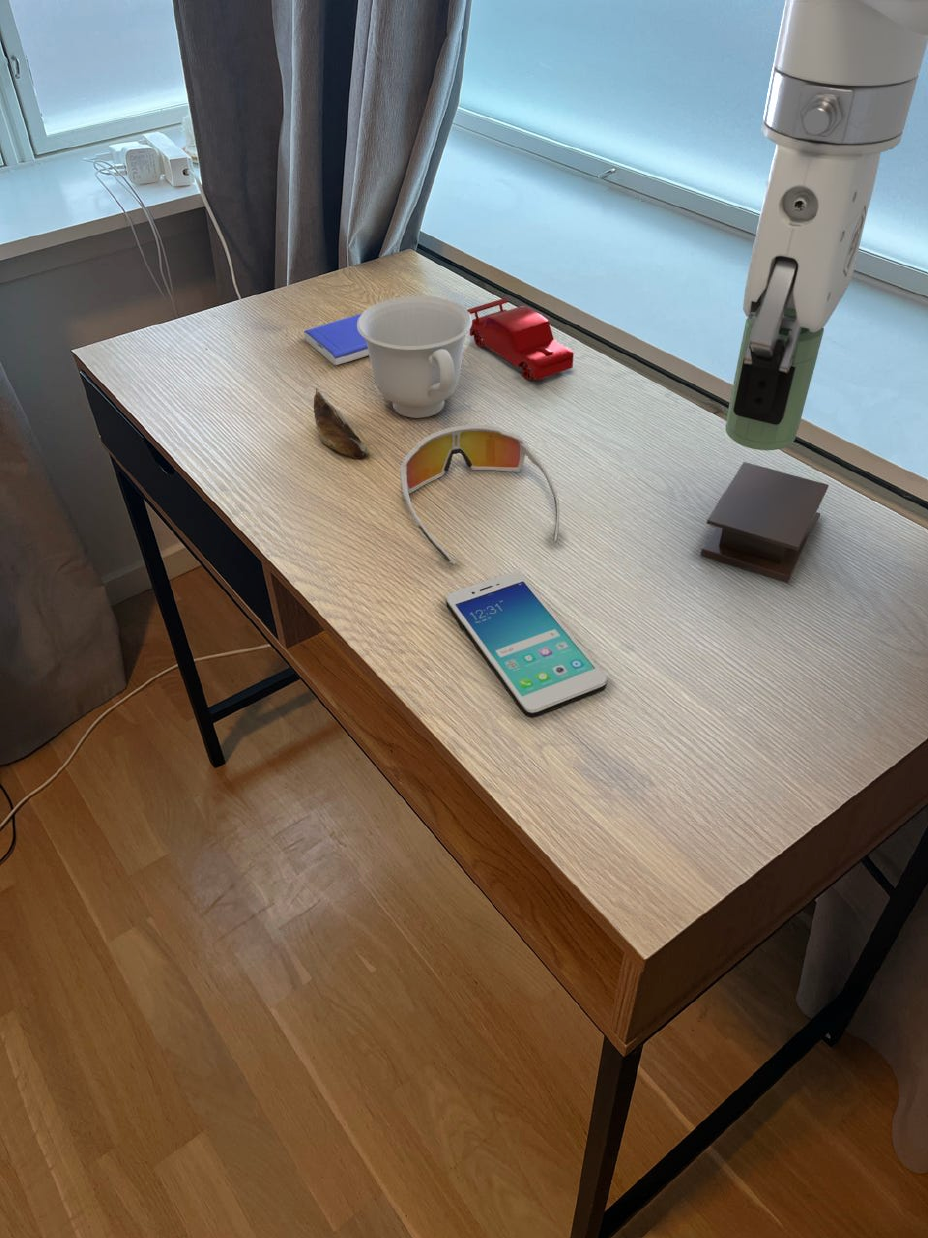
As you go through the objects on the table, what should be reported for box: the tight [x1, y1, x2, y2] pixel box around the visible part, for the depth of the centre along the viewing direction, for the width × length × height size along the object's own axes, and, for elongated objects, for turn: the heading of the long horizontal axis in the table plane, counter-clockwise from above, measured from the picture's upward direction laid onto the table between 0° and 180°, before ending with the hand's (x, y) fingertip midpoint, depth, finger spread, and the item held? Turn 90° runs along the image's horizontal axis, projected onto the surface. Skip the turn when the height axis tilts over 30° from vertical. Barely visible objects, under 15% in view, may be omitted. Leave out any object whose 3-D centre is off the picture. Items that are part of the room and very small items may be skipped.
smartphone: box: [445, 571, 608, 718], centre depth 79 cm, size 7×1×15 cm
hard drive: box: [303, 313, 369, 366], centre depth 118 cm, size 2×8×12 cm
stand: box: [700, 461, 830, 584], centre depth 88 cm, size 8×10×4 cm
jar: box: [724, 308, 825, 451], centre depth 65 cm, size 5×5×8 cm
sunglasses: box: [399, 424, 560, 565], centre depth 92 cm, size 14×15×5 cm
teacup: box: [357, 295, 473, 419], centre depth 103 cm, size 12×15×10 cm
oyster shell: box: [313, 387, 370, 459], centre depth 101 cm, size 6×4×10 cm
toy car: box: [466, 297, 575, 381], centre depth 113 cm, size 14×6×5 cm, turn 34°
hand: (769, 395), depth 66 cm, fingers closed on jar, 4 cm apart
